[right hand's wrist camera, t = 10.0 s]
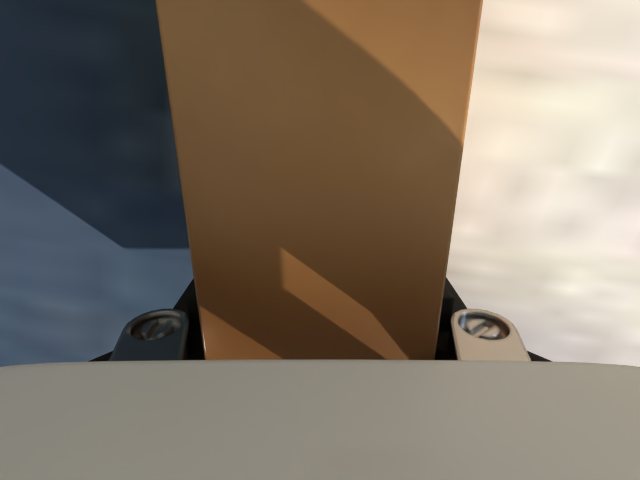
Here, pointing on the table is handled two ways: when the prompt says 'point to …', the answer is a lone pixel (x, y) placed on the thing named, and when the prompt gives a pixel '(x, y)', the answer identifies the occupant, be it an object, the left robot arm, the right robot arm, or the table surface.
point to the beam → (319, 169)
